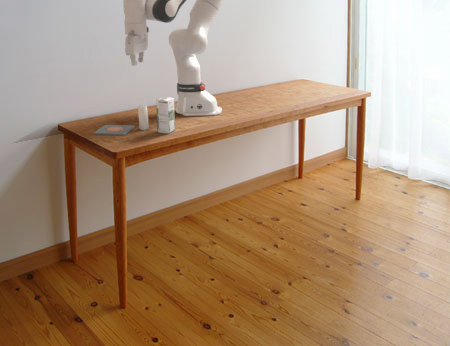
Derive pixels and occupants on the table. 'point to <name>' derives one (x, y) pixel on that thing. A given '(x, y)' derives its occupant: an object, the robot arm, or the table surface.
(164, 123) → the syrup box
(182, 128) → the table surface
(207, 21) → the robot arm
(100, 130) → the card
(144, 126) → the tube
